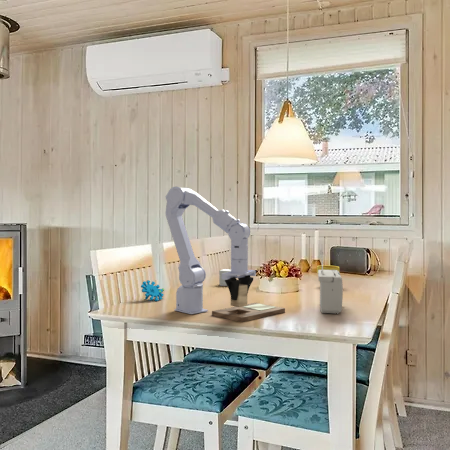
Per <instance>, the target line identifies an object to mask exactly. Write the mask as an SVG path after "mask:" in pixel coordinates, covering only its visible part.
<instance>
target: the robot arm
mask: <svg viewBox="0 0 450 450" xmlns="http://www.w3.org/2000/svg"><path fill="white" fill-rule="evenodd" d="M165 200H166V207H165V217H166V220H167V225H168V227H169V231H170V234H171V236H172V240H173V242H174V246H175V249H176V252H177V255H178V258H179V265H178V268H177V270H178V272H179V274H178V281H179V282H180V284H181V285H180V286H178V288H177V290H176V293H175V295H176V296H175V298H176V299H175V308H174V312H175V311H176V312H180V313H183V314H189V315H195V314H201V313H205V312H209V310H208V309H207V308H206V309H205V308H203V307H204V305H203V304H204V303H203V301H204V300H203V296H204V294H203V293H204V292H203V290H204V286H203V285H204V284H203V282H204V281H205V280H206V276H207V274H206V270H205V269H204V267H203V266H202V265H201V262H200V261H199V260H198V259H197V258H196V256H195V253H194V251H193V247H192V245H191V244H192V243H191V241H190V238H189V237H190V236H189V235H188V231H187V228H186V226H185V225H186V224H185V222H184V219H183V214H184V212H185V210H186V209H188V207H190V206H195V207H196V208H198V209H199V210H201V211H202V212H203V213H205V214H206V215H208V216H210V217H211V218H212V222H213V224H214V225H216V226H217V227H218V228H219V229H220V230H223V231H224V233H226V234H228V237H229V239H230V240H231V241H230V269H231V272H227V273H222V279H223V280H225V282H226V284H227V286H226V287H227V288H228V290H229V294H230V300H231V299H232V300H237V298H238V288H239V284H244V285H248V286H247V295H248V293H249V290H250V287H251V285H252V283H253V281H254V277H256V276H257V270H254V269H249V263H248V262H249V245H248V244H249V237H250V235H251V228H250V227H249V226H248V224H247V223H245V222H241V219H239V218H236V217H234V216H233V215H232V214H230V211H229V210H227V209H217V208H216V207H215V206H214V205H213V204H212V203H211V202H209V201H207V199H206V198H204V197H203V196H201V194H200V193H198V192H196V191H195V190H193V189H192V188H190V187H180V186H172V187H171V188H169V190H168V191H167V194H166V195H165Z"/></svg>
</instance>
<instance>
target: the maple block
mask: <svg viewBox="0 0 450 450" xmlns="http://www.w3.org/2000/svg"><path fill="white" fill-rule="evenodd" d="M247 286H248V285H244V284H239V288H238V298H237V300H232V299H231V298H230V307H243V306H247V304H248V294H247Z"/></svg>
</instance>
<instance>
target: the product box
mask: <svg viewBox="0 0 450 450" xmlns="http://www.w3.org/2000/svg"><path fill="white" fill-rule="evenodd" d="M227 272H231V268H230V269H229V268H228V269H227V268H223V269H220V270H219V273H218V274H219V276H218V279H219V286H221V287H222V286H224V287H228V286H227V284H226V282H225V280H223V279H222V273H227Z"/></svg>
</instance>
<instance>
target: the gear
mask: <svg viewBox="0 0 450 450" xmlns="http://www.w3.org/2000/svg"><path fill="white" fill-rule="evenodd" d="M155 284H156V282H155V281H150V280H146V281H145V280H144V281H142V284H141V286H140V288H142V289H141V293H144V296H145V297H144V298H145V300H148V299H149V300H150V301H153V300H154V302H159V301H161V300H163V297H164V295H165V294H164V291H165V289H164V288H160V287H161V286H160V285H159V284H156V285H155Z"/></svg>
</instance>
